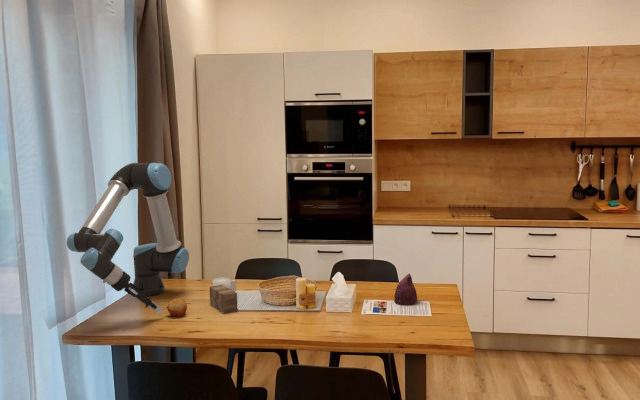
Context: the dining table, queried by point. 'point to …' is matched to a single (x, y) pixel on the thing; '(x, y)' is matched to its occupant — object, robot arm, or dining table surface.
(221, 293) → the brown wooden block
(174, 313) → the fruit
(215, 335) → the dining table surface
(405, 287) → the vegetable
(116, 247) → the robot arm
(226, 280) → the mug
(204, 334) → the dining table surface
